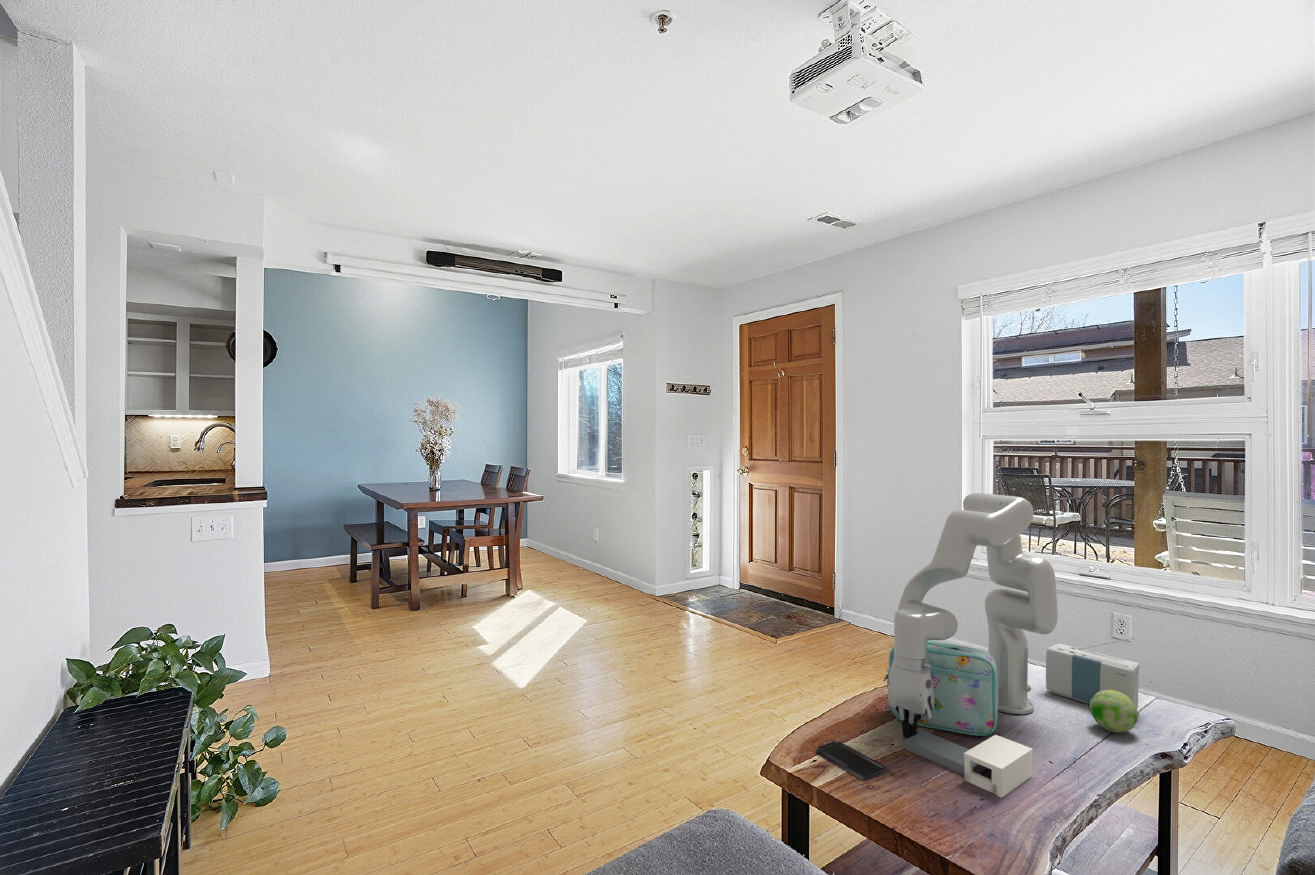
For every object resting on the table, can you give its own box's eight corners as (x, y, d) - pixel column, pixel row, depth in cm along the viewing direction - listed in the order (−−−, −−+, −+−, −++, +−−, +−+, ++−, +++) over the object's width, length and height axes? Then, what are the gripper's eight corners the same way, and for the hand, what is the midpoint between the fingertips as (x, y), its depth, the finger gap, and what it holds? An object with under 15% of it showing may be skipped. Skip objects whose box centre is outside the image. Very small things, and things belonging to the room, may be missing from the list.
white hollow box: (995, 760, 147) (995, 734, 147) (1032, 776, 141) (1032, 748, 140) (963, 780, 139) (963, 753, 139) (1001, 798, 132) (1002, 769, 132)
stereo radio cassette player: (1044, 693, 185) (1045, 624, 185) (1056, 686, 190) (1057, 619, 189) (1130, 720, 168) (1131, 644, 168) (1141, 712, 173) (1143, 638, 173)
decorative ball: (1140, 731, 162) (1141, 691, 162) (1133, 744, 155) (1133, 703, 155) (1094, 718, 169) (1094, 680, 169) (1085, 730, 162) (1085, 691, 162)
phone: (837, 740, 155) (889, 768, 142) (837, 745, 155) (888, 773, 142) (813, 748, 151) (864, 778, 138) (813, 753, 151) (864, 783, 138)
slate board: (923, 740, 157) (923, 730, 157) (989, 768, 144) (989, 757, 144) (904, 750, 152) (904, 740, 152) (971, 779, 140) (971, 768, 140)
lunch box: (881, 721, 167) (882, 639, 167) (887, 706, 176) (888, 628, 176) (997, 745, 154) (998, 656, 154) (997, 727, 164) (998, 643, 163)
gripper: (948, 668, 152) (947, 745, 153) (892, 650, 164) (891, 721, 165) (930, 675, 148) (929, 754, 148) (874, 656, 160) (873, 729, 160)
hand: (909, 736), depth 156 cm, fingers closed
